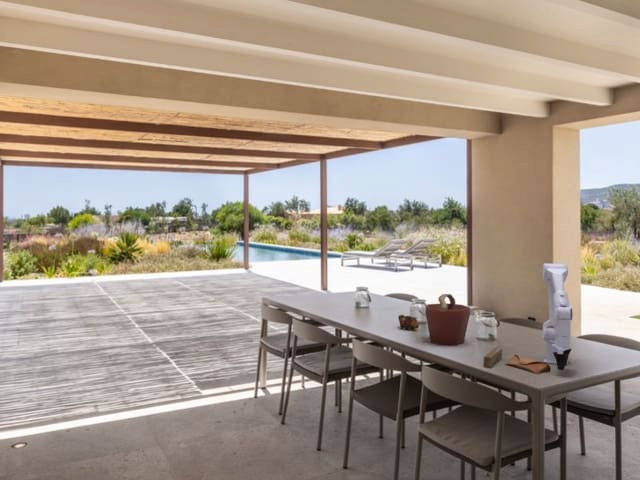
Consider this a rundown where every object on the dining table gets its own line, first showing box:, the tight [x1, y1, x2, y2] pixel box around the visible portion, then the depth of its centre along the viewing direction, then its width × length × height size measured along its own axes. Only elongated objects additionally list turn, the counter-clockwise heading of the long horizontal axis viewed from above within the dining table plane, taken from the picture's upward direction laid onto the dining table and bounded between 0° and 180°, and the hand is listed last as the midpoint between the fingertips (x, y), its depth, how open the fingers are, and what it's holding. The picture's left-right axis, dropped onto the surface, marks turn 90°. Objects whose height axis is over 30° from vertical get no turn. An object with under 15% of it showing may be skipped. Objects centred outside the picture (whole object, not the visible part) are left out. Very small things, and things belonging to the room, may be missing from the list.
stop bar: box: [483, 346, 503, 369], centre depth 230 cm, size 3×20×4 cm, turn 148°
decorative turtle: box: [398, 314, 420, 331], centre depth 302 cm, size 10×15×8 cm, turn 41°
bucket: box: [425, 293, 471, 347], centre depth 269 cm, size 24×22×25 cm
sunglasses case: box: [503, 354, 551, 375], centre depth 222 cm, size 18×7×7 cm
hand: (562, 367), depth 215 cm, fingers open, 7 cm apart
